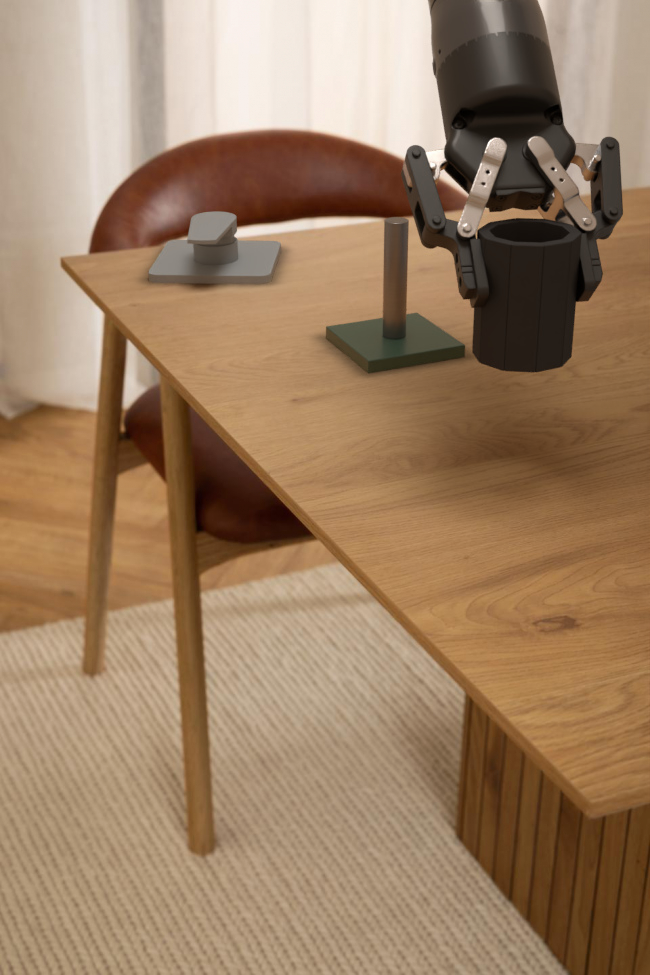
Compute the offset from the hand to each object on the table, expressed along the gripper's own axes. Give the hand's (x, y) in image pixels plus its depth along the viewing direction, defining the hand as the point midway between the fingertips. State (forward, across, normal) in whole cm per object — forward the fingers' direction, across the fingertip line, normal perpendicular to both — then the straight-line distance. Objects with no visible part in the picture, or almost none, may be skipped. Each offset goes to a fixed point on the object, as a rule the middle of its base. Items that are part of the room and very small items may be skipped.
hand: (533, 298), depth 72 cm
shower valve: (-28, -17, +47) cm, 57 cm away
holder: (-10, -3, +29) cm, 31 cm away
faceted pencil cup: (+2, 0, +4) cm, 5 cm away
